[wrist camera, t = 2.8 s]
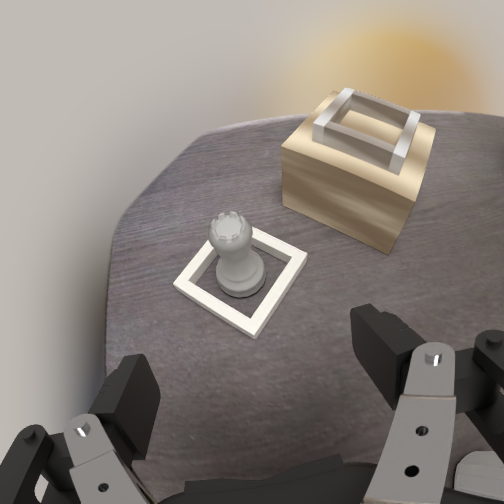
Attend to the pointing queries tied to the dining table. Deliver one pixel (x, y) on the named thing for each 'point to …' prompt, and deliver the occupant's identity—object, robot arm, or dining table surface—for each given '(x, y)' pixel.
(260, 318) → the low collar
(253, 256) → the rook chess piece
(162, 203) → the dining table surface
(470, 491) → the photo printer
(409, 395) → the robot arm
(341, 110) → the birch stand
